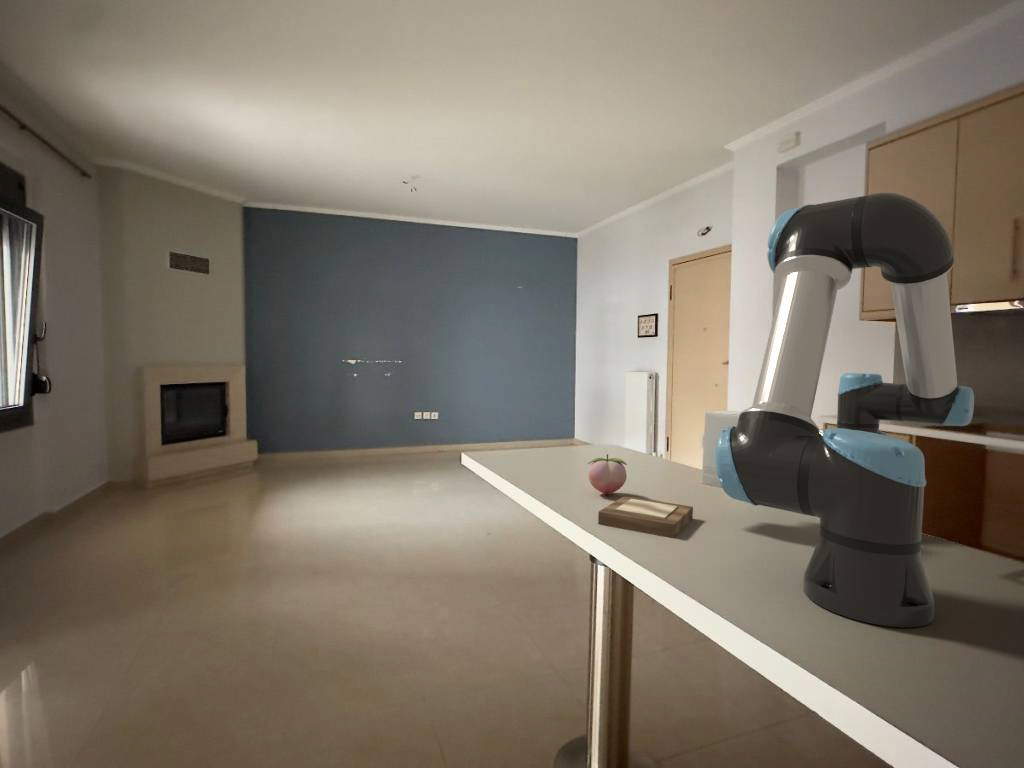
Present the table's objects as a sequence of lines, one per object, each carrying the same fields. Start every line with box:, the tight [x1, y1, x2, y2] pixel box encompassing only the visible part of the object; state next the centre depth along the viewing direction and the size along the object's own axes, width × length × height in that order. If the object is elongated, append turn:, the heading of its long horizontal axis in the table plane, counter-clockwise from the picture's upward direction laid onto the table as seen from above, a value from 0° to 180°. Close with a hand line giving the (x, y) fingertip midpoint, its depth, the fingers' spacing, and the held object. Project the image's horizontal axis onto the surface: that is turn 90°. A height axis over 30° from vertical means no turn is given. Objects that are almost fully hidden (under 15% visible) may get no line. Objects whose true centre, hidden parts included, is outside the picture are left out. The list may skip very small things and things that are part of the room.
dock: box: [597, 495, 694, 539], centre depth 112 cm, size 15×15×3 cm
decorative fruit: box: [587, 454, 628, 496], centre depth 133 cm, size 9×8×10 cm
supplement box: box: [701, 410, 742, 489], centre depth 110 cm, size 9×9×15 cm
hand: (717, 446), depth 110 cm, fingers closed on supplement box, 12 cm apart
